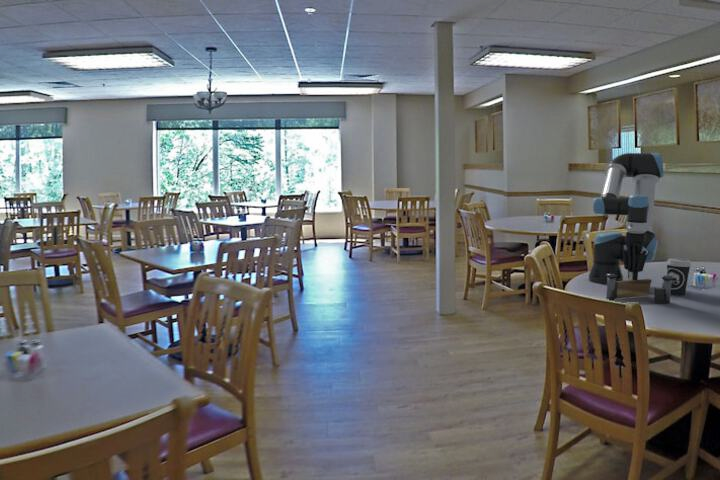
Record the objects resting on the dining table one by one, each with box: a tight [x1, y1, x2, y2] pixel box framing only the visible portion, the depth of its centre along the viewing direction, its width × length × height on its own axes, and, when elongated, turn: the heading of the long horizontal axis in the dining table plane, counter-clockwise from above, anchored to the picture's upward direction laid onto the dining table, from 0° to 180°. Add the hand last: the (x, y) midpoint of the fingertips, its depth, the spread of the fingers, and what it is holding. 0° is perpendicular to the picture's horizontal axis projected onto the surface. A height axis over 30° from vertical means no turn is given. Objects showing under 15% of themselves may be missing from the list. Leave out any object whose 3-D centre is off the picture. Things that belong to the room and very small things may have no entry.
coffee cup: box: [665, 257, 692, 297], centre depth 239 cm, size 10×10×15 cm
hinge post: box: [605, 273, 617, 301], centre depth 231 cm, size 4×4×11 cm
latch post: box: [653, 274, 673, 305], centre depth 226 cm, size 5×7×11 cm
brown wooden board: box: [615, 278, 653, 300], centre depth 234 cm, size 2×17×7 cm, turn 103°
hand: (632, 286), depth 236 cm, fingers closed
